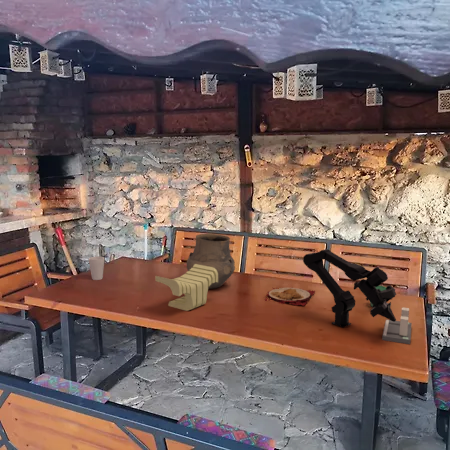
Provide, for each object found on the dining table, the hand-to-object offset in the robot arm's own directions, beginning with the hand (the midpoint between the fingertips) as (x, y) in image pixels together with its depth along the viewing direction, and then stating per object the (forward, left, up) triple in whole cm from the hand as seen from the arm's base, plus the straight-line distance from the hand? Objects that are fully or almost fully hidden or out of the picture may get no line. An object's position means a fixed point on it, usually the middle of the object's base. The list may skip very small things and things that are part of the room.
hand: (395, 321), depth 195 cm
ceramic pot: (-11, +110, -8) cm, 111 cm away
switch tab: (+12, +2, -5) cm, 14 cm away
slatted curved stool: (-42, +91, -8) cm, 100 cm away
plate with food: (+8, +67, -8) cm, 68 cm away
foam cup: (-55, +168, -8) cm, 177 cm away
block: (+2, -3, -5) cm, 6 cm away
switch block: (+6, +2, -7) cm, 10 cm away
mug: (+28, +26, -8) cm, 39 cm away
